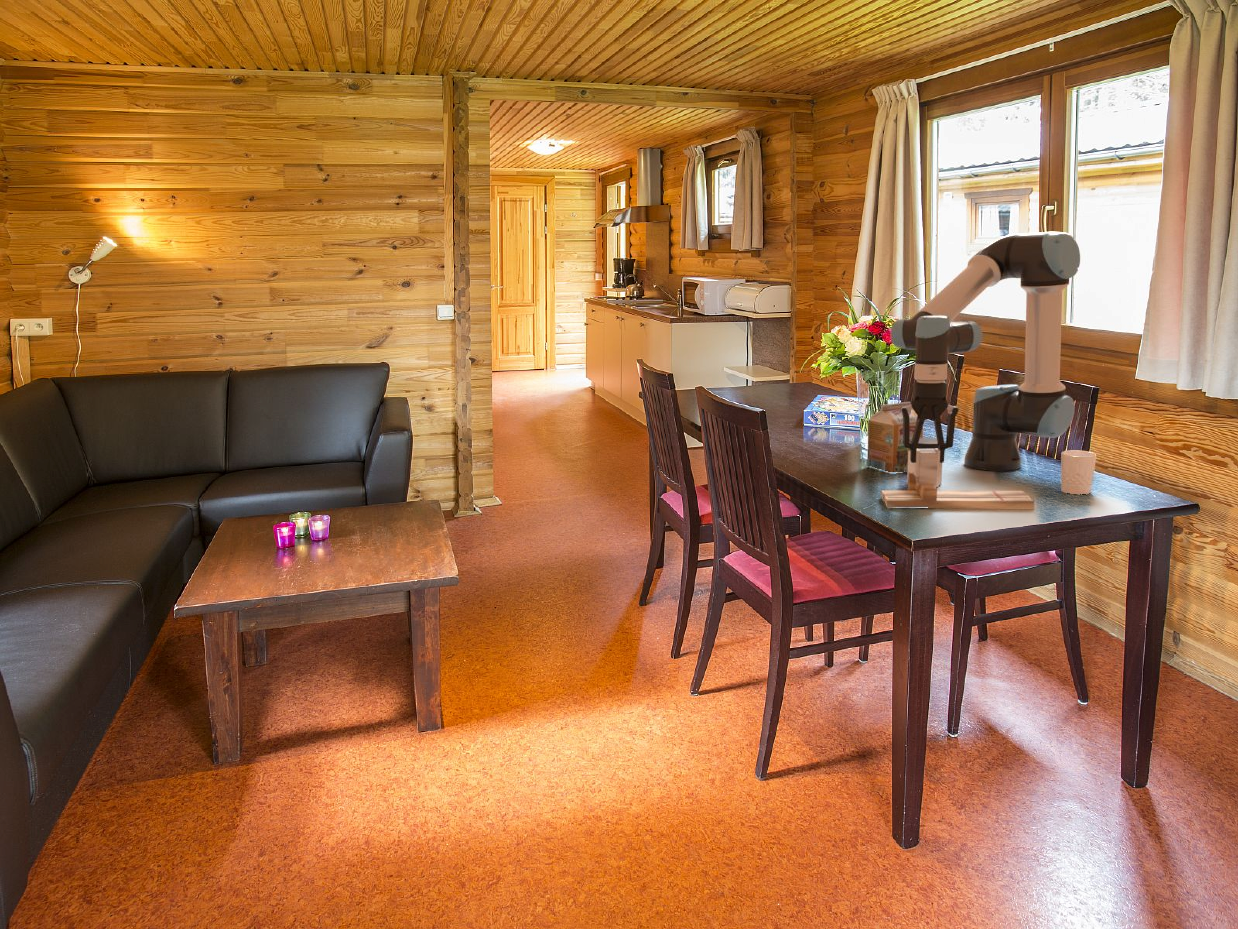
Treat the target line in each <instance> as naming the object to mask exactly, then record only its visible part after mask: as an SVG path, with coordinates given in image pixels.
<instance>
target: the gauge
mask: <svg viewBox="0 0 1238 929" xmlns="http://www.w3.org/2000/svg"><path fill="white" fill-rule="evenodd" d="M919 450H920V462H919V477H916V476H915V475H914V472H909V473H908V485H907V490H917V492H918V493H919V495H920V496H921V497H922V499H923V500H924V501H937V491H938V487H937V488H936V486H935V485H937V462H938V452H937V451H936V450H935V449H919Z"/></svg>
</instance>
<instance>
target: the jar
mask: <svg viewBox="0 0 1238 929" xmlns="http://www.w3.org/2000/svg"><path fill="white" fill-rule="evenodd" d="M911 441H912V439H911V440H910V443H911ZM917 448H918V449H935V448H938V443H937V438H931V437H923V438H920V439H919V442H918V446H917ZM909 472H914V463H912V462H911V460H910V450H909V451H908V471H907V476H906V484H907V483H908V473H909ZM942 477H943V463H940V467H939V477H937V485H935V486H936V487H937V488H938V487H940V486H941V485H942ZM939 485H940V486H939Z"/></svg>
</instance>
